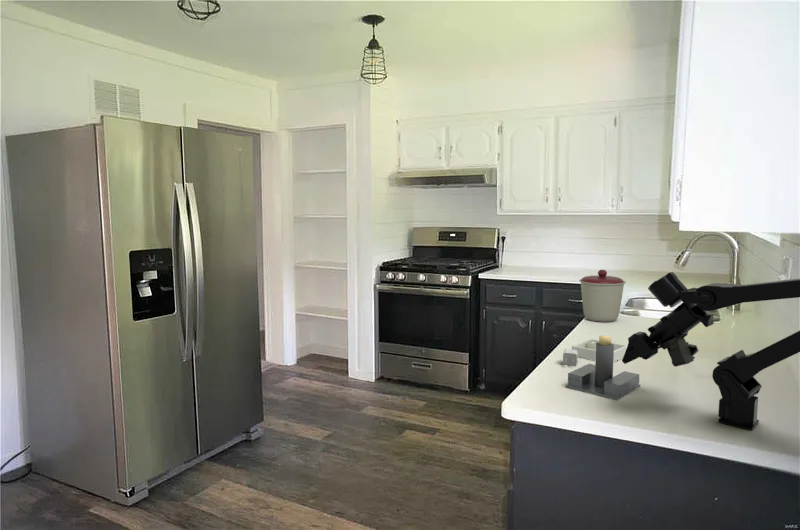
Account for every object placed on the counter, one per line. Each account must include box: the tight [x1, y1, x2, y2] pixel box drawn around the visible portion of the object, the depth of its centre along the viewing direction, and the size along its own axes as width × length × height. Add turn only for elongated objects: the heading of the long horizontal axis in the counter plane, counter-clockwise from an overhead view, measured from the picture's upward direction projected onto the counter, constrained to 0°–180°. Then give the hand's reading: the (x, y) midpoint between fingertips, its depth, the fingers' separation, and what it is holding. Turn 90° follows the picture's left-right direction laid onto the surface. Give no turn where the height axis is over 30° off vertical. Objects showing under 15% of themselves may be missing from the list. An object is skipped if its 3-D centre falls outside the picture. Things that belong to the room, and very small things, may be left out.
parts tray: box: [571, 338, 628, 363], centre depth 173 cm, size 13×13×3 cm
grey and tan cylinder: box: [594, 335, 614, 387], centre depth 143 cm, size 4×4×13 cm
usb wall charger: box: [562, 348, 579, 367], centre depth 164 cm, size 4×7×4 cm, turn 159°
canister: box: [579, 269, 626, 323], centre depth 225 cm, size 18×18×21 cm
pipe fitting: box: [586, 341, 596, 350], centre depth 174 cm, size 8×4×7 cm
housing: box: [565, 363, 641, 401], centre depth 144 cm, size 14×14×4 cm
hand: (632, 358), depth 137 cm, fingers open, 9 cm apart
